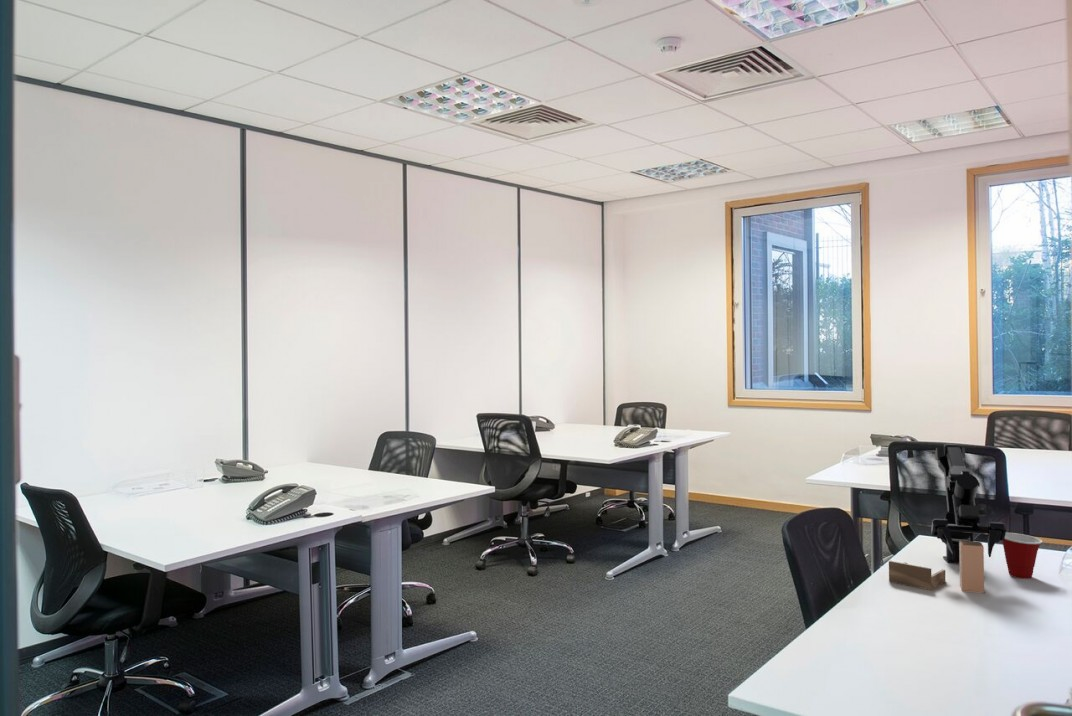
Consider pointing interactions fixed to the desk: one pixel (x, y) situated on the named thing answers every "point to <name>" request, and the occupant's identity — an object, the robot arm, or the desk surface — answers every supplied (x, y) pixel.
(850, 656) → the desk surface
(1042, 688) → the desk surface
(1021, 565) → the plastic cup
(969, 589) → the tall peach pillar
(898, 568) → the brown l-shaped block
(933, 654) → the desk surface
